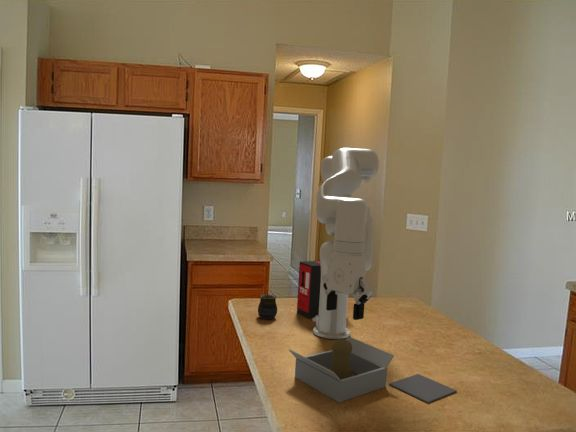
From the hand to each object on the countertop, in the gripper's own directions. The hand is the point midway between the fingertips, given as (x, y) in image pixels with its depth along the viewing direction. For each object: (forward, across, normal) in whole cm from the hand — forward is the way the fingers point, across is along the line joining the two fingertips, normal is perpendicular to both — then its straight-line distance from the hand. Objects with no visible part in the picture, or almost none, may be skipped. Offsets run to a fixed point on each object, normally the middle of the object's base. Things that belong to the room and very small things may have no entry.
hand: (344, 314), depth 124 cm
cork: (+18, -1, 0) cm, 18 cm away
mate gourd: (+17, -56, +16) cm, 61 cm away
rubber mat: (+18, +13, +16) cm, 28 cm away
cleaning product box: (+17, -51, +38) cm, 66 cm away
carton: (+18, -1, 0) cm, 18 cm away
